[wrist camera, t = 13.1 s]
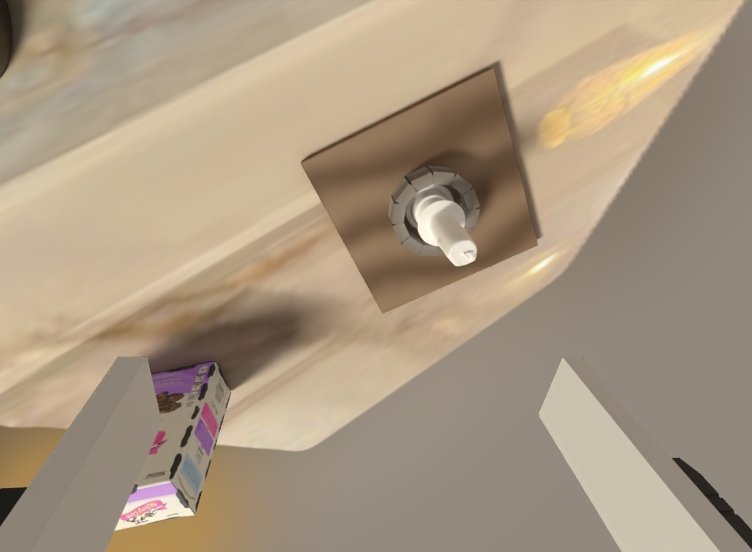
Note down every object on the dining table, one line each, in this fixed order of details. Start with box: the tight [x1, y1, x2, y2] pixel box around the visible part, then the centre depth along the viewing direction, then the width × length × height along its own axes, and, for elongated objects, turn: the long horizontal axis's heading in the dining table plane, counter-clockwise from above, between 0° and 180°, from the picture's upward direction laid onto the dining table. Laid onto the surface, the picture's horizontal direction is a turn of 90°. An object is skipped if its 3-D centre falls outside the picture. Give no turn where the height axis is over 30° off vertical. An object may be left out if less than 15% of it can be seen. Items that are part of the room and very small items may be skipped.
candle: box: [405, 184, 477, 266], centre depth 36 cm, size 5×5×12 cm
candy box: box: [114, 362, 231, 531], centre depth 43 cm, size 14×6×16 cm, turn 100°
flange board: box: [301, 68, 538, 314], centre depth 41 cm, size 20×20×4 cm
